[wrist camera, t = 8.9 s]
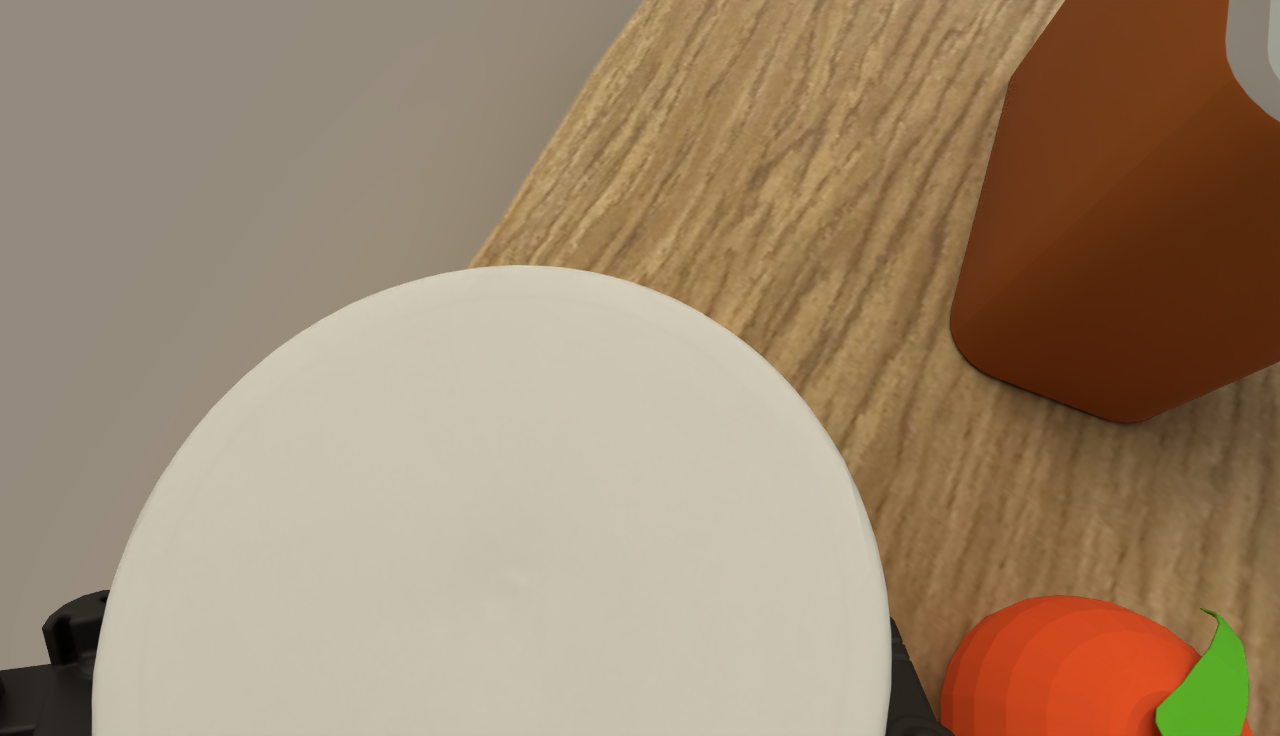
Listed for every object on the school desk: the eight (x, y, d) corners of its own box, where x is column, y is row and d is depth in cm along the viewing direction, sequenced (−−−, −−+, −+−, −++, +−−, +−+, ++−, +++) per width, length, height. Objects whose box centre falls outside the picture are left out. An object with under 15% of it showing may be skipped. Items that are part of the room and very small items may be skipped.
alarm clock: (1166, 445, 25) (1722, 234, 13) (936, 358, 26) (1247, 79, 14) (1199, 141, 31) (1610, -212, 18) (1008, 77, 32) (1278, -304, 19)
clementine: (1004, 536, 24) (1160, 488, 17) (1185, 702, 22) (1434, 719, 16) (852, 720, 21) (966, 746, 15) (1043, 921, 20) (1265, 1052, 13)
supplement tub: (773, 737, 21) (1093, 871, 8) (462, 893, 19) (139, 1450, 6) (644, 444, 24) (706, 167, 11) (367, 553, 22) (18, 385, 9)
